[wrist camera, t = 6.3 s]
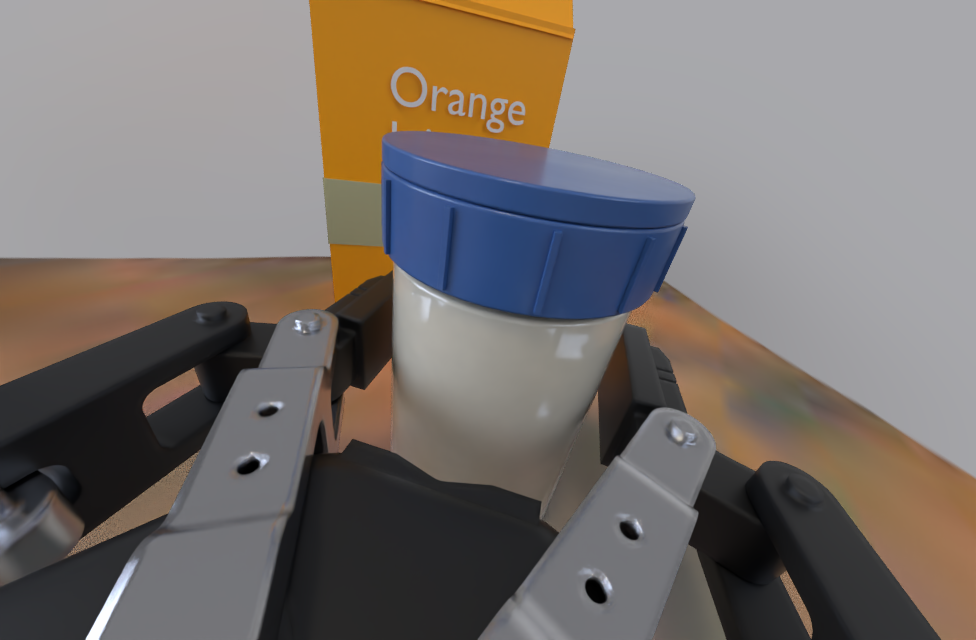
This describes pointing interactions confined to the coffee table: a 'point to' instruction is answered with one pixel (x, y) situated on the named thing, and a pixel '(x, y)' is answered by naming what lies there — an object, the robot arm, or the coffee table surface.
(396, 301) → the jar
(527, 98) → the orange juice
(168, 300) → the coffee table surface
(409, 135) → the lid
